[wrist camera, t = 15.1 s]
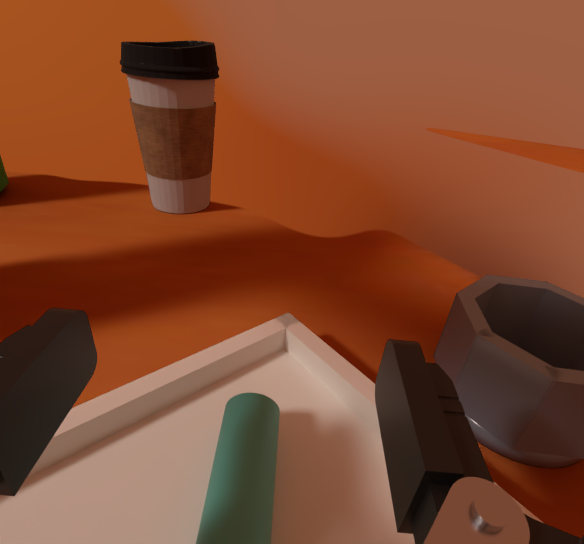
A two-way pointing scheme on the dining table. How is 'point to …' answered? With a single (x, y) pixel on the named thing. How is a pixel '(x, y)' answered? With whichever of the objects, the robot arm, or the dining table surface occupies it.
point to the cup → (519, 368)
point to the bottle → (2, 176)
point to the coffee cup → (174, 118)
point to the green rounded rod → (242, 474)
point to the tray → (202, 446)
